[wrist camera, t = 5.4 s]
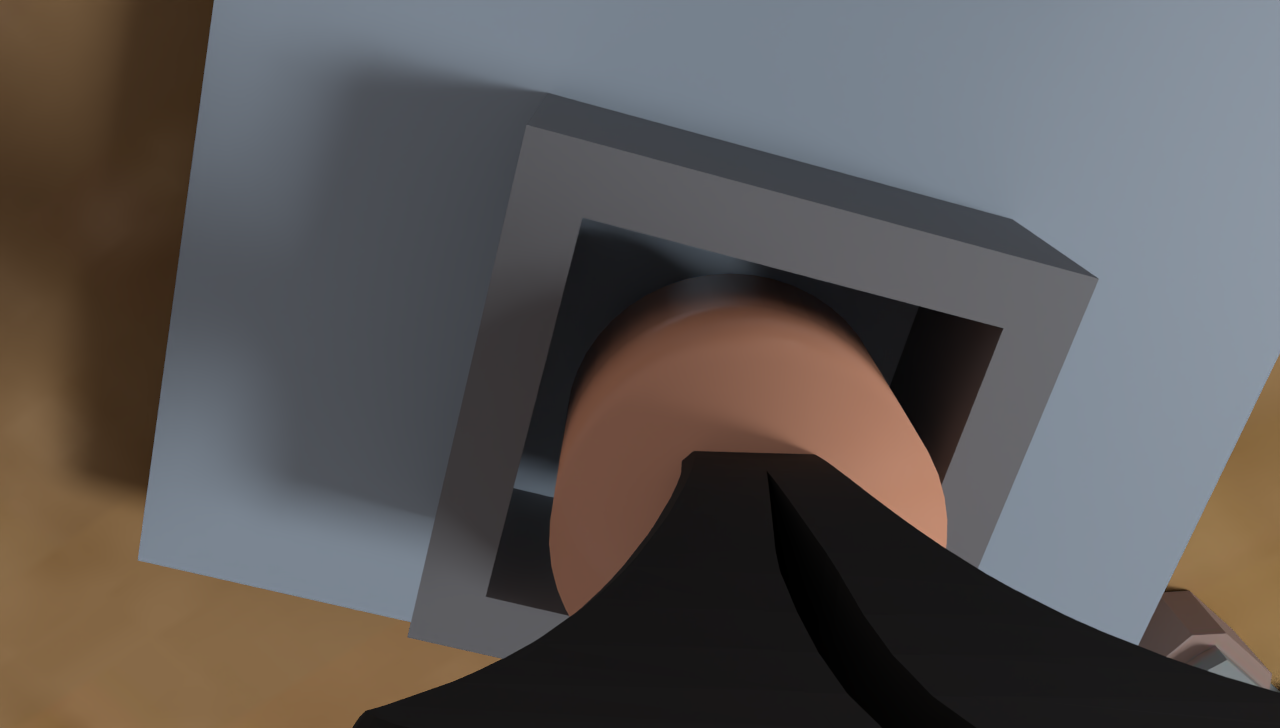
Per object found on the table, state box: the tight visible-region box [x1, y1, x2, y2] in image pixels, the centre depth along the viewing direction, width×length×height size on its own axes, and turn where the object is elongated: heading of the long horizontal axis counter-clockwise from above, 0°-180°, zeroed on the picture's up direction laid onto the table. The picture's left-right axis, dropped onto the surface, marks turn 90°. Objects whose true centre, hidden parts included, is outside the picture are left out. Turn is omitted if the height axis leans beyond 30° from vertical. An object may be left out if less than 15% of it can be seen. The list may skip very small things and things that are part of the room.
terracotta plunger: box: [549, 273, 947, 616], centre depth 13 cm, size 4×4×3 cm
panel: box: [138, 0, 1280, 659], centre depth 14 cm, size 15×20×5 cm
